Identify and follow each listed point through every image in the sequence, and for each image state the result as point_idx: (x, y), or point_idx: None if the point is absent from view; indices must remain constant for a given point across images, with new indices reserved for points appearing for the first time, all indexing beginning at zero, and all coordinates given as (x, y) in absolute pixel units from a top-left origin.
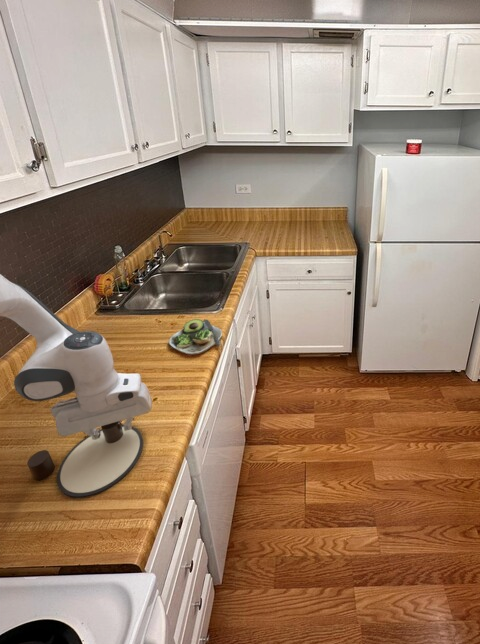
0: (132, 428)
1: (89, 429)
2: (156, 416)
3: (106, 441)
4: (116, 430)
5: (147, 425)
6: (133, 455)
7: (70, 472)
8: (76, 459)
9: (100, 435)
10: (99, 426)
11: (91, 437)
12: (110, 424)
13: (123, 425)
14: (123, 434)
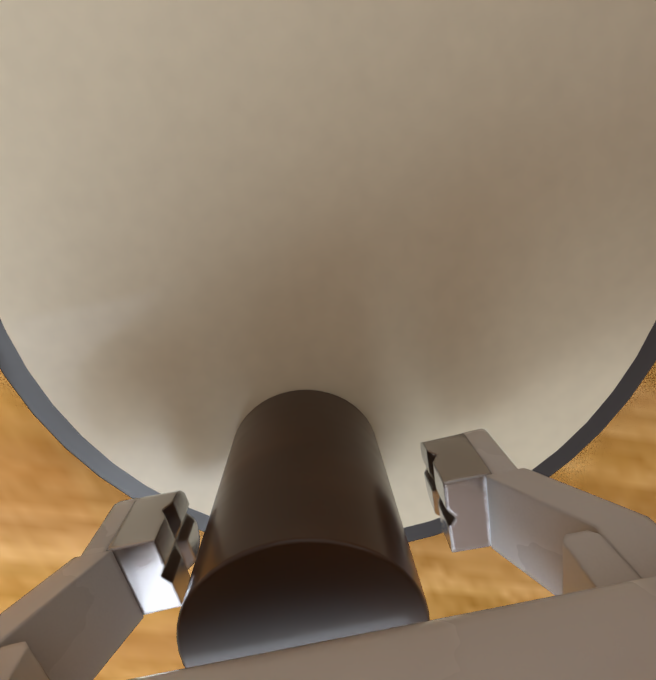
0: None
1: (597, 574)
2: (32, 587)
3: (356, 411)
4: (218, 504)
5: (68, 520)
6: (1, 210)
7: (602, 125)
8: (579, 270)
9: (424, 472)
10: (427, 630)
11: None
12: (282, 612)
13: None
14: None
